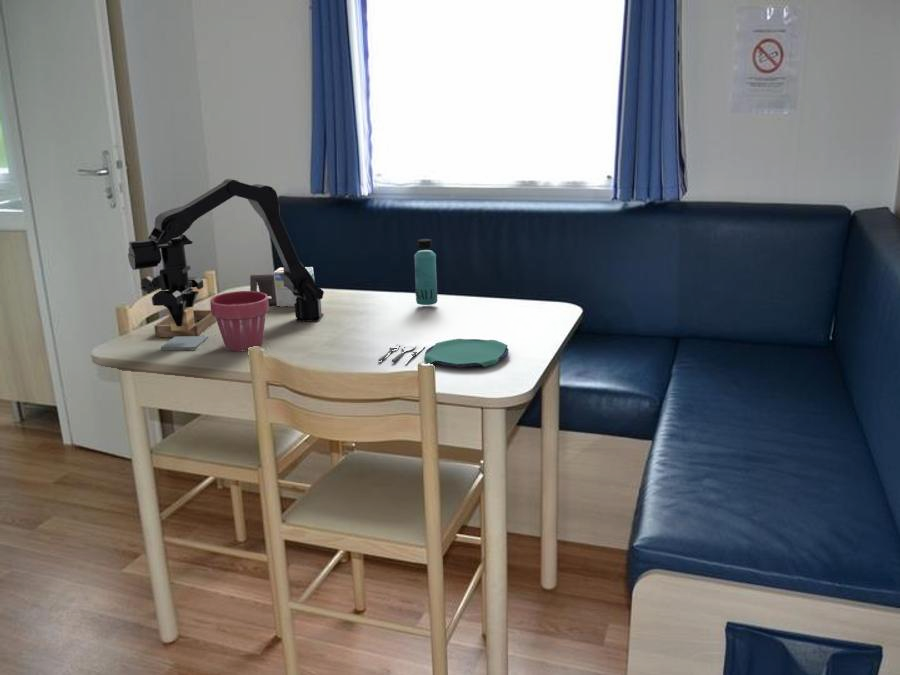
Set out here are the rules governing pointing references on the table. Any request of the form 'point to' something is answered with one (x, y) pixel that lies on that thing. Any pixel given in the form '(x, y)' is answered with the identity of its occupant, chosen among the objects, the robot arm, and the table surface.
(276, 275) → the light bulb box
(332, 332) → the table surface
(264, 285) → the portable electronic device stand
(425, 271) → the beverage bottle
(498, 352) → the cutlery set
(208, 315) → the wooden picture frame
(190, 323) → the beech block
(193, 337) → the slate pad
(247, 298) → the plant pot
